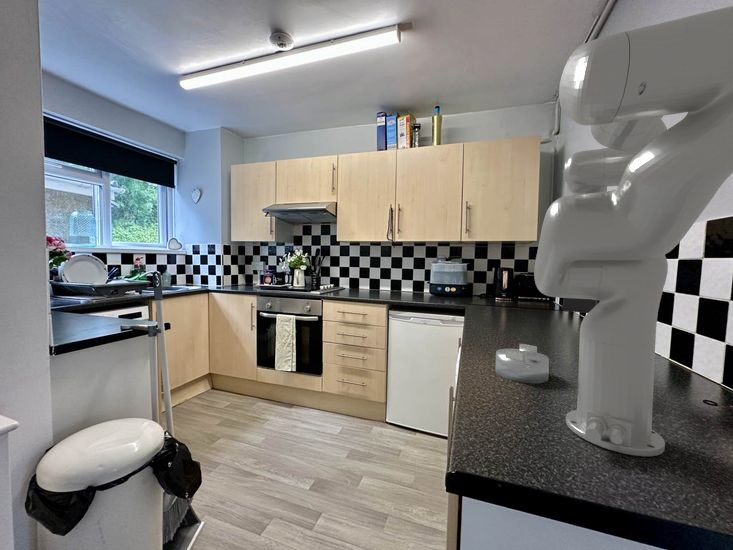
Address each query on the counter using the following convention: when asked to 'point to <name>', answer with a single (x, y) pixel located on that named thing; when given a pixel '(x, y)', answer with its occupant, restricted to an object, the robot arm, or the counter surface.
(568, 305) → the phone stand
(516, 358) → the grey short round piece
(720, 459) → the counter surface
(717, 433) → the counter surface
